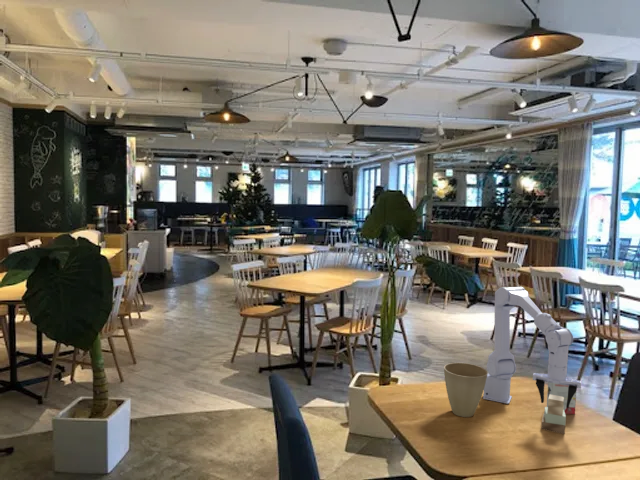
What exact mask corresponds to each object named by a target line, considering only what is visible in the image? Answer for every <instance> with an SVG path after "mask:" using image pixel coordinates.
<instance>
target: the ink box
mask: <svg viewBox="0 0 640 480" xmlns="http://www.w3.org/2000/svg"><path fill="white" fill-rule="evenodd" d="M568 387H569V386H568V385H562V384H556V383H551V382H547V392H546V393H547V396H546V398H547V399H546V407H548V398H549V395H550V394H551V395H556V396H562V397H564V407H563V410H564V412H565V415H575V414H576V405H577V404H576V402H577V392H576V393H575V394H574V396H573V397H572V399H571V401H570V404H569V408H566V405H567V399H568Z"/></svg>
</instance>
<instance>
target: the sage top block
mask: <svg viewBox="0 0 640 480" xmlns="http://www.w3.org/2000/svg"><path fill="white" fill-rule="evenodd" d="M543 412H544V413H543V414H544V417H545V422H547V423H553V424H559V425H565V426H566V424H567V423H566V421H567V414H565V412H564V410H563V416H559V415H554V414H549V413H548V407H547V406H544V411H543Z"/></svg>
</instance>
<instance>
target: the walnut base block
mask: <svg viewBox="0 0 640 480" xmlns="http://www.w3.org/2000/svg"><path fill="white" fill-rule="evenodd" d="M541 430H543V431H549V432H554V433H557V434H562V435H565V434H566V433H565V432H566V431H565V430H566V424H565V425H559V424H553V423H547V422H545V417H544V413H543V414H542V419H541Z"/></svg>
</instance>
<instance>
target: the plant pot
mask: <svg viewBox="0 0 640 480" xmlns="http://www.w3.org/2000/svg"><path fill="white" fill-rule="evenodd" d="M443 372H444V383H445V387H446V388H445V389H446V394H447V398H448V402H449V406H450V408H451V412H452V413H453V414H454V415H456V416H458V417H463V418H471V417H473V416H474V415H475V413H476V410H477V408H478V406H479V404H480V402H481V399H482V396H483V394H484V387H485V383H486V379H487V374H489V373H488V371H487V369H485V368H484V367H482V366H479V365H476V364H472V363H466V362H451V363H447V364H445V365H444V366H443Z"/></svg>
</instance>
